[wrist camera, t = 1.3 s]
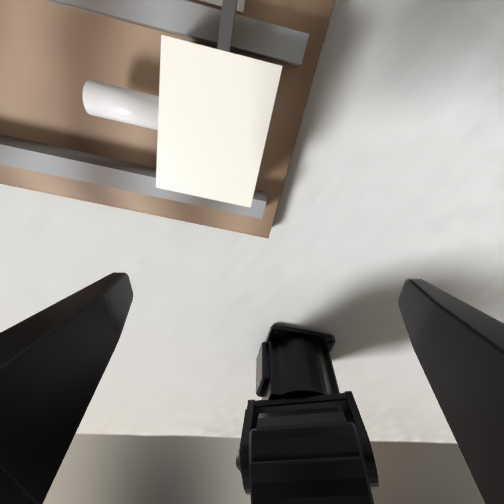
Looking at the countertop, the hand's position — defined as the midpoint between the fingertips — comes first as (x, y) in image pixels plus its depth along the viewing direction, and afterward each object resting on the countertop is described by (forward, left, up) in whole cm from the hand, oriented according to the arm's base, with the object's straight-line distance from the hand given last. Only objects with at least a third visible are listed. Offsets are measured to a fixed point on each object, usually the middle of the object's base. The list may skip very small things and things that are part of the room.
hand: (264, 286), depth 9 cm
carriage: (+5, -5, -11) cm, 13 cm away
